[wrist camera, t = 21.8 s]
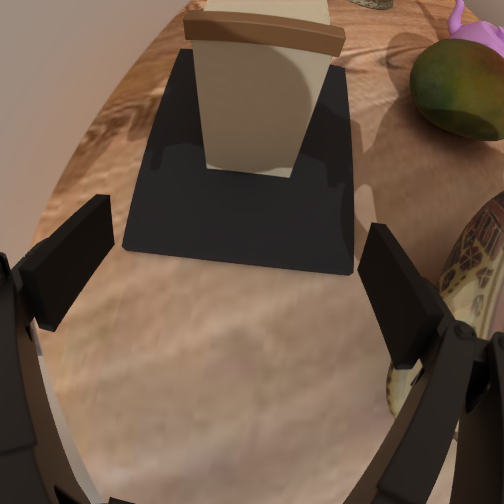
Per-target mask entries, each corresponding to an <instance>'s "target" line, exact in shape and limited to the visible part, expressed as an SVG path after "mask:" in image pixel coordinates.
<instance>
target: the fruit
mask: <svg viewBox="0 0 504 504" xmlns="http://www.w3.org/2000/svg"><path fill="white" fill-rule="evenodd" d="M410 90H411V94H412V97H413V100H414V102H415V104H416V106H417V108H418V110H419V111H420V112H421V114H422V115H423V116H424V117H425V118H426V119H427V120H429V121H430V122H431V123H432V124H434V125H435V126H437V127H439V128H441V129H443V130H446V131H449V132H452V133H454V134H457V135H460V136H463V137H466V138H470V139H476V140H482V141H498V140H502V139H504V58H503V57H502V56H501V55H500V54H499V53H498V52H496V51H495V50H493V49H492V48H490V47H488V46H485V45H483V44H481V43H478V42H475V41H470V40H465V39H456V38H452V39H446V40H442V41H439V42H437V43H435V44H433V45H431V46H430V47H428V48H427V49H426V50H424V51H423V52H422V53H421V54H420V55H419V57H418V58H417V60H416V61H415V63H414V65H413V67H412V69H411V73H410Z"/></svg>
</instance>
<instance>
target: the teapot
mask: <svg viewBox="0 0 504 504" xmlns="http://www.w3.org/2000/svg"><path fill="white" fill-rule="evenodd" d="M463 10H464V2H463V0H456V5H455V8H454V10H453V12H452V13H451V15H450V17H449V19H448V30H449V33H450V38H449V39H452V38H456V39H465V40H470V41H475V42H478V43H481V44H483V45H485V46H488V47H490V48H492V49H493V50H495V51H496V52H498V53H499V54H500V55H501V56H502V57H503V58H504V28H502V27H500V26H499V27H498V28H496V27H495V26H493V25H492V24H490V23H488V22H485V21H479V22H474V23H470V24H467V25H464V26H462V23H461V15H462V12H463Z"/></svg>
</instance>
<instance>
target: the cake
mask: <svg viewBox="0 0 504 504" xmlns="http://www.w3.org/2000/svg"><path fill="white" fill-rule="evenodd" d="M349 1H352V2H353V3H356V4H359V5H362V6H365V7H369V8H373V9H374V8H375V9H381V10H382V9H389V8H390V7H391V6H393V0H349Z"/></svg>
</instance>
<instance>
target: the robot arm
mask: <svg viewBox="0 0 504 504" xmlns="http://www.w3.org/2000/svg"><path fill="white" fill-rule="evenodd" d="M114 245H115V243H114V234H113V225H112V214H111V203H110V195H103V194H96V195H95V196H94V197H93V198H91V199H90V200H89V201H88V202H87V203H86V204H84V205H83V206H82V207H81V208H80V209H79V210H78V211H77V212H75V213H74V214H73V215H72V216H71V217H70V218H69V219H68V220H67V221H65V222H64V223H63V224H62V225H61V226H60V227H59V228H58V229H57V230H56V231H55V232H54V233H53V234H52V235H51V236H50V237H48V238H46V239H44V240H42V241H40V242H39V243H37V244H36V245H35V246H34V247H33V248H32V249H31V250H30V251H29V252H28V253H27V254H26V255H25V257H23V258H22V259H21V260H20V261H19V262H18V263H17V264H16V265H15V266H14V267H13V268H12V269H11V270H10V267H9V263H8V260H7V257H6V254H4V253H2V252H0V504H91V503H90V501H89V499H88V498H87V496H86V495H85V493H84V491H83V490H82V489H81V487H80V486H79V484H78V482H77V481H76V479H75V477H74V474H73V472H72V469H71V467H70V464H69V462H68V459H67V456H66V454H65V451H64V449H63V446H62V443H61V440H60V437H59V434H58V431H57V428H56V425H55V422H54V419H53V415H52V412H51V409H50V406H49V402H48V398H47V394H46V391H45V387H44V383H43V378H42V374H41V370H40V365H39V361H38V356H37V351H36V345H35V340H34V334H33V329H32V327H31V324H30V323H31V321H32V320H33V318H34V317H35V319H36V321H37V324H38V326H39V328H40V329H44V330H48V331H52V332H55V331H56V329H57V327H58V326H59V324H60V323H61V321H62V319H63V318H64V316H65V315H66V313H67V312H68V310H69V309H70V307H71V306H72V304H73V302H74V301H75V299H76V298H77V297H78V295H79V294H80V292H81V291H82V289H83V288H84V286H85V285H86V283H87V282H88V280H89V279H90V278H91V276H92V275H93V273H94V272H95V270H96V269H97V268H98V266H99V265H100V264H101V262H102V261H103V259H104V258H105V257H106V255H107V254H108V253H109V251H110V250H111V249H112V247H113V246H114ZM357 271H358V273H359V276H360V278H361V280H362V283H363V285H364V288H365V290H366V293H367V295H368V298H369V300H370V303H371V305H372V308H373V310H374V313H375V315H376V318H377V321H378V323H379V326H380V329H381V331H382V334H383V337H384V339H385V342H386V345H387V348H388V351H389V353H390V356H391V359H392V362H393V365H394V368H395V370H409V369H413V367H414V366H415V364H416V363H417V361H418V359H420V361H421V364H422V368H421V369H420V371H419V372H418V374H417V375H416V377H415V378H414V380H413V381H412V382H411V384H410V385H411V386H412V388H411V390H410V392H409V394H408V396H407V398H406V400H405V402H404V404H403V406H402V408H401V410H400V412H399V414H398V416H397V418H396V419H395V421H394V423H393V425H392V427H391V429H390V431H389V432H388V434H387V436H386V438H385V439H384V441H383V443H382V445H381V446H380V448H379V450H378V451H377V453H376V455H375V456H374V458H373V460H372V461H371V463H370V464H369V466H368V467H367V469H366V471H365V472H364V474H363V475H362V477H361V478H360V480H359V481H358V483H357V484H356V486H355V487H354V489H353V490H352V491H351V493H350V494H349V496H348V497H347V498H346V500H345V501H344V503H343V504H426V502H427V500H428V498H429V496H430V494H431V491H432V489H433V487H434V485H435V482H436V480H437V478H438V475H439V473H440V471H441V468H442V466H443V463H444V461H445V458H446V455H447V453H448V450H449V447H450V444H451V442H452V439H453V436H454V433H455V430H456V427H457V423H458V420H459V427H458V442H457V453H456V463H455V471H454V478H453V485H452V492H451V498H450V503H449V504H504V333H503V332H499V331H498V332H495V333H494V334H493V335H492V337H491V338H490V340H485V339H481V338H478V337H477V334H476V332H475V330H474V329H473V328H472V327H471V326H470V325H469V324H467V323H466V322H463V321H461V320H456V319H455V318H454V316H453V314H452V313H451V311H450V309H449V308H448V306H447V305H446V303H445V301H443V298H442V297H441V295H440V294H439V292H438V290H437V289H436V287H435V286H434V285H433V284H432V283H431V282H430V281H429V280H428V279H427V278H425V277H421V275H420V274H419V272H418V271H417V269H416V268H415V266H414V265H413V263H412V262H411V260H410V259H409V257H408V256H407V254H406V253H405V251H404V250H403V248H402V247H401V246H400V244H399V243H398V241H397V240H396V238H395V237H394V236H393V234H392V233H391V231H390V230H389V229H388V227H387V226H386V224H379V223H371V227H370V230H369V233H368V237H367V240H366V244H365V247H364V250H363V253H362V257H361V260H360V263H359V266H358V269H357ZM103 504H107V503H103ZM108 504H134V503H130V502H126V501H123V500H119V499H115V498H112V497H110V499H109V503H108Z"/></svg>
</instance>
